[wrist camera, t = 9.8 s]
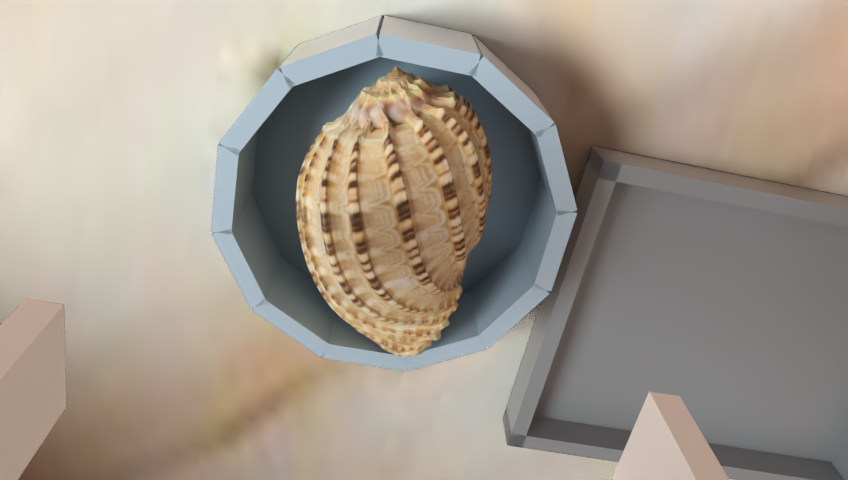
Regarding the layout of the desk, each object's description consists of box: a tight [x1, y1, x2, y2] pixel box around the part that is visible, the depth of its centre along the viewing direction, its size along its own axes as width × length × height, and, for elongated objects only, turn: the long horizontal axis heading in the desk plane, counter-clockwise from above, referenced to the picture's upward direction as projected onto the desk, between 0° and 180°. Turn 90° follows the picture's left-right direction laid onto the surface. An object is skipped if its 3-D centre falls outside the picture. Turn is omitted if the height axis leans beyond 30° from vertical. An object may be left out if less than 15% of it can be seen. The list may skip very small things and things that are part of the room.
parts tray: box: [503, 146, 848, 480], centre depth 30 cm, size 17×14×2 cm
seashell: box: [296, 66, 492, 357], centre depth 24 cm, size 8×6×10 cm
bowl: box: [211, 15, 577, 371], centre depth 25 cm, size 12×12×4 cm
